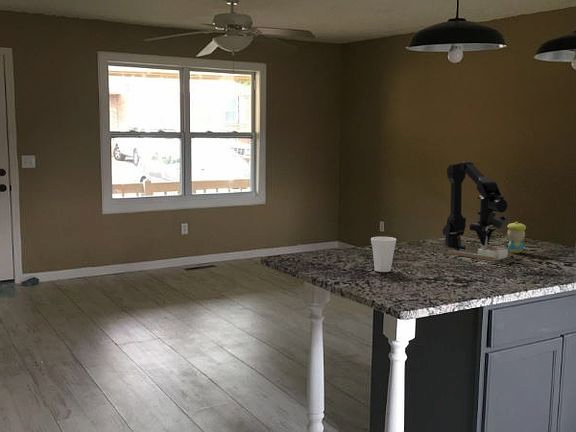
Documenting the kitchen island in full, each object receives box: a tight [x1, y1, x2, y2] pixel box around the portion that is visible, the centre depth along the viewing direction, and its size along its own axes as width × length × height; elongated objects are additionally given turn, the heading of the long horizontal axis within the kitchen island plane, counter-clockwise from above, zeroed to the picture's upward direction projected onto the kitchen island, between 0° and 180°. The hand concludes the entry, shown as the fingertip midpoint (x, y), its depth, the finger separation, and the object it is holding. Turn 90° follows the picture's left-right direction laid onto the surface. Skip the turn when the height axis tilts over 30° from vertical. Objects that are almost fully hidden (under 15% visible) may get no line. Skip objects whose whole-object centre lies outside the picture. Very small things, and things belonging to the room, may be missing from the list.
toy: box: [507, 221, 527, 254], centre depth 285 cm, size 8×9×15 cm
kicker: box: [478, 236, 490, 256], centre depth 277 cm, size 4×4×8 cm
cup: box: [370, 236, 397, 273], centre depth 247 cm, size 10×10×13 cm
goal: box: [486, 247, 509, 261], centre depth 273 cm, size 5×10×4 cm, turn 134°
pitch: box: [447, 246, 512, 262], centre depth 279 cm, size 22×16×2 cm
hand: (485, 245), depth 277 cm, fingers closed on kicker, 2 cm apart
